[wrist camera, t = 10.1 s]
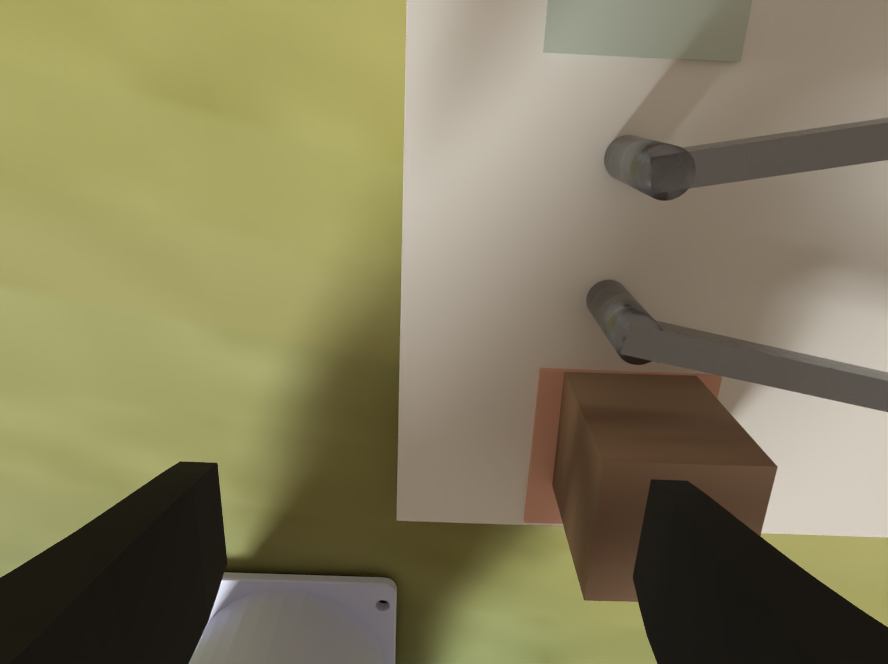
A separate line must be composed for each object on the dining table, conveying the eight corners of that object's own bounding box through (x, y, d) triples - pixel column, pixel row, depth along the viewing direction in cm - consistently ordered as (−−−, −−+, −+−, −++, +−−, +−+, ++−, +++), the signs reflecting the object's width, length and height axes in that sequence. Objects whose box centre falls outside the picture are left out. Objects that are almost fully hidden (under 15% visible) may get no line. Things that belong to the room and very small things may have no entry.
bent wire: (875, 373, 20) (962, 430, 16) (578, 361, 19) (605, 416, 16) (961, 93, 17) (1087, 93, 13) (614, 77, 17) (656, 74, 13)
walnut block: (675, 488, 21) (743, 604, 16) (552, 485, 21) (584, 600, 16) (696, 375, 19) (777, 466, 15) (564, 371, 19) (603, 461, 15)
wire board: (898, 511, 23) (932, 542, 22) (399, 494, 23) (396, 524, 21) (1123, -132, 16) (1196, -156, 15) (413, -170, 16) (410, -198, 14)
